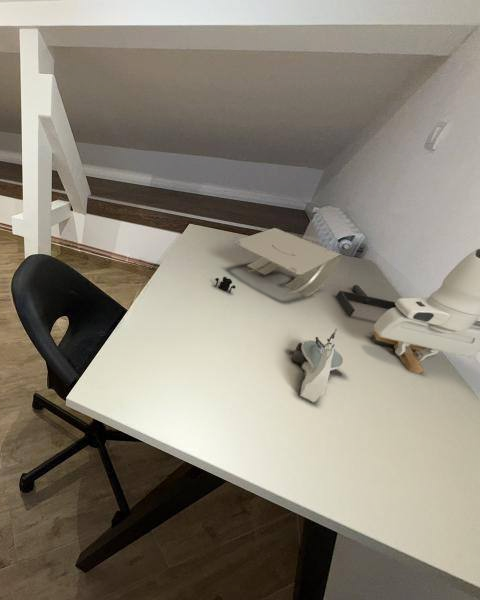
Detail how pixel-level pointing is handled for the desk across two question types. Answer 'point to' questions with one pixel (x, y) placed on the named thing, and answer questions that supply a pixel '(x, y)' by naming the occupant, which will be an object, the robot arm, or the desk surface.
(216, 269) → the desk surface
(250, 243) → the laptop stand
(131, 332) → the desk surface
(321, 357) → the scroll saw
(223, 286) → the wireless earbuds
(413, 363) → the wooden t-shaped block
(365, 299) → the dark flat angular piece
